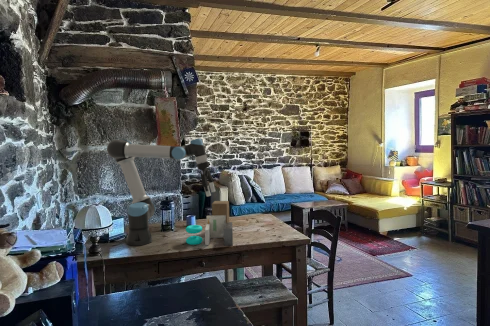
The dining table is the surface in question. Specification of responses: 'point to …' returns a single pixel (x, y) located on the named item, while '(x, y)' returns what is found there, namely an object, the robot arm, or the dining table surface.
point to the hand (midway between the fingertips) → (211, 193)
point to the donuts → (194, 229)
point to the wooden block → (221, 208)
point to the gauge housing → (221, 228)
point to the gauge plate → (207, 233)
